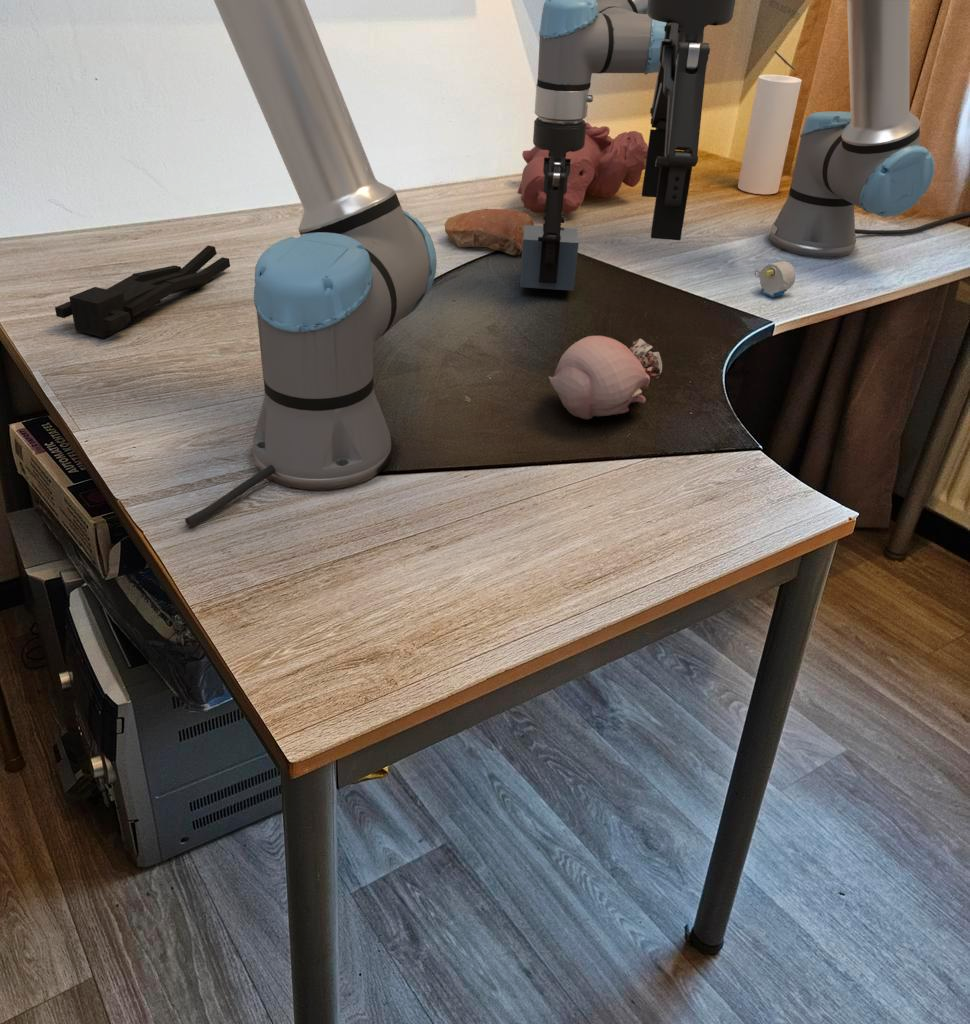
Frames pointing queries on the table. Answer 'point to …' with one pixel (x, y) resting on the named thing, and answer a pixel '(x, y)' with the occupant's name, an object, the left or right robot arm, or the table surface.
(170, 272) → the toy
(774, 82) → the tall white tube
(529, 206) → the reddish clay animal figure
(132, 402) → the table surface
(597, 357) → the toy
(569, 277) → the grey cube
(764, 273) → the electric motor
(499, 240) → the ceramic shard
